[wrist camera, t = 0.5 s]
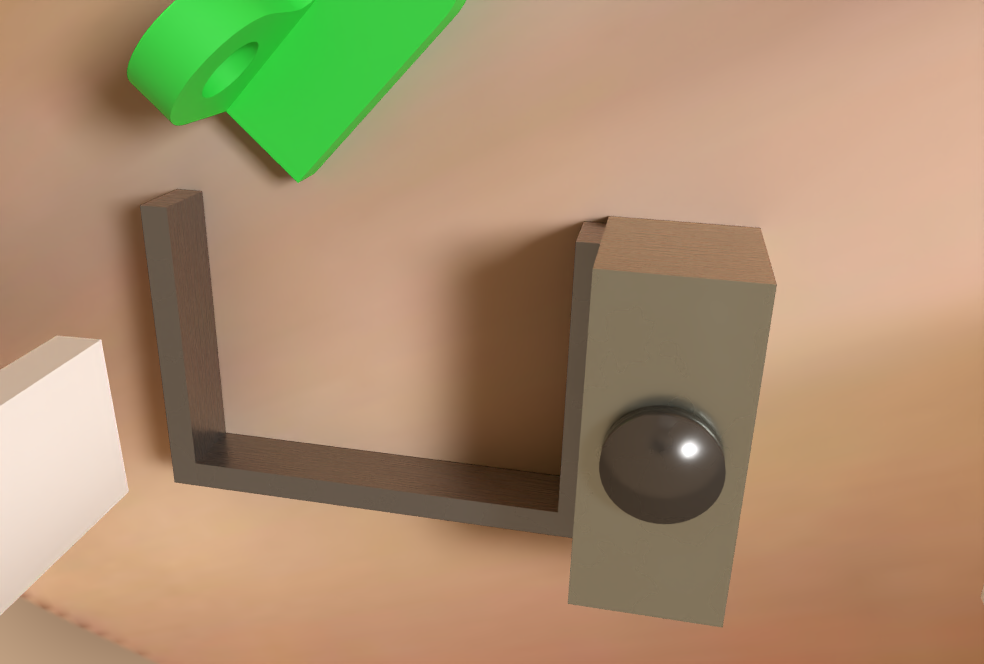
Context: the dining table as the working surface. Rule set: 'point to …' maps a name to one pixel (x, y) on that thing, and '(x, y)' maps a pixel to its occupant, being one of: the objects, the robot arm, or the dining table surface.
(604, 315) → the knobbed latch bracket
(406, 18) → the mechanical part
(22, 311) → the dining table surface
